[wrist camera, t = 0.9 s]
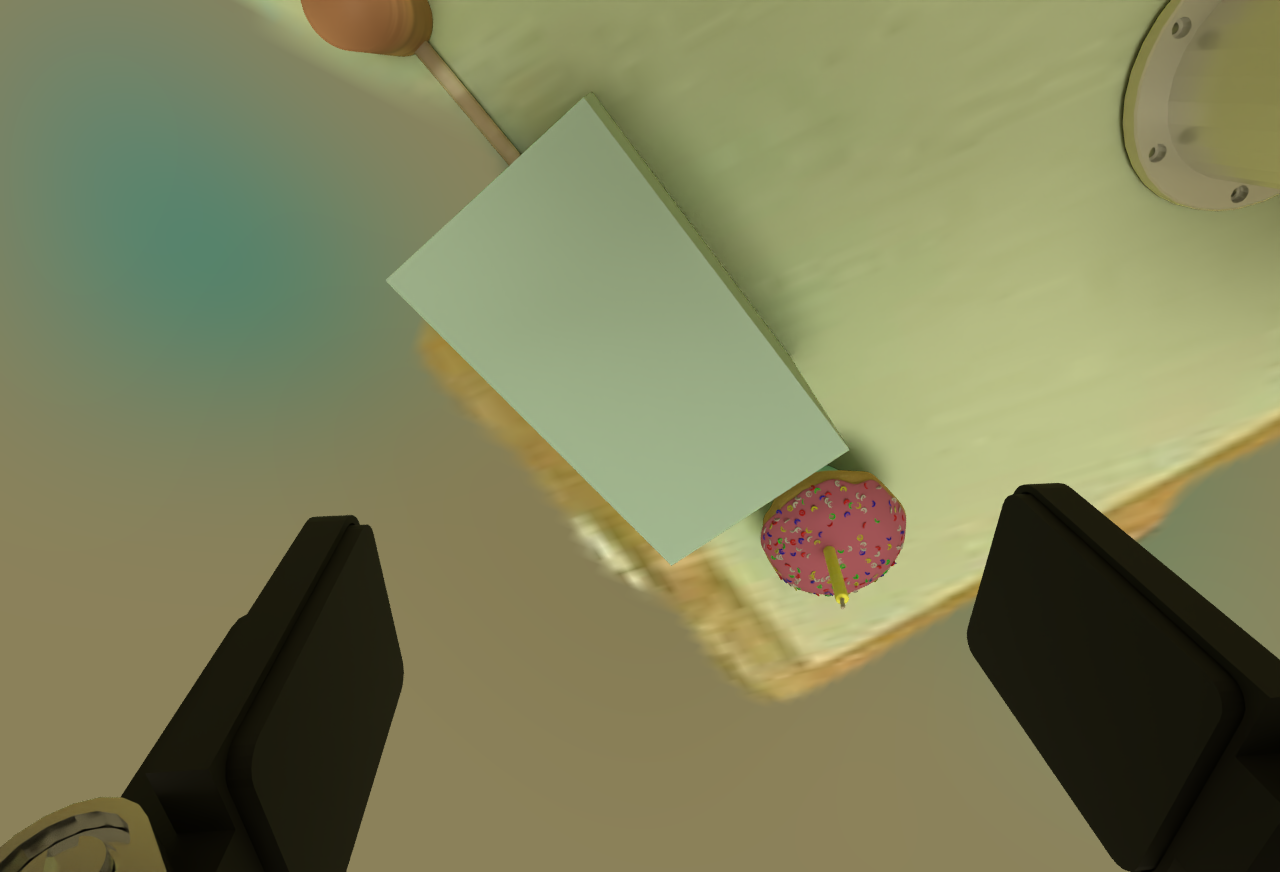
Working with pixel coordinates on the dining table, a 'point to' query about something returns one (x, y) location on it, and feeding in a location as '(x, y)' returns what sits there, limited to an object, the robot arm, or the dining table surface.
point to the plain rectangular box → (621, 337)
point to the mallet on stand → (399, 47)
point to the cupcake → (834, 532)
